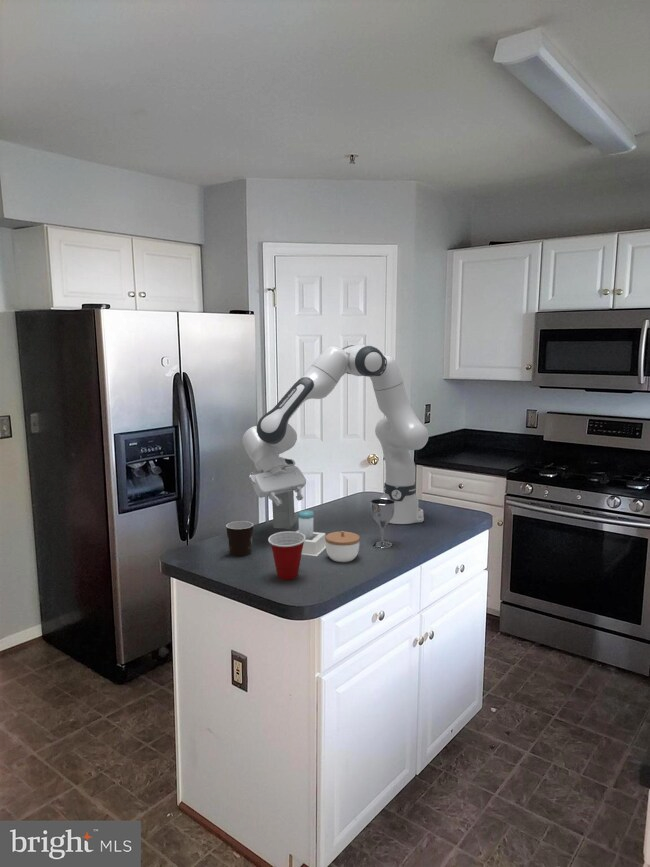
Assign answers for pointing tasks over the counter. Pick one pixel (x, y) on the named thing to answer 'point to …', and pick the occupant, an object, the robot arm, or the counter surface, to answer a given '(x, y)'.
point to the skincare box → (284, 511)
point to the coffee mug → (240, 538)
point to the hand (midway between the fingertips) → (290, 501)
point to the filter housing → (314, 544)
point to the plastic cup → (287, 553)
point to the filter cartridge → (306, 523)
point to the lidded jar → (342, 546)
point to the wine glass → (382, 517)
